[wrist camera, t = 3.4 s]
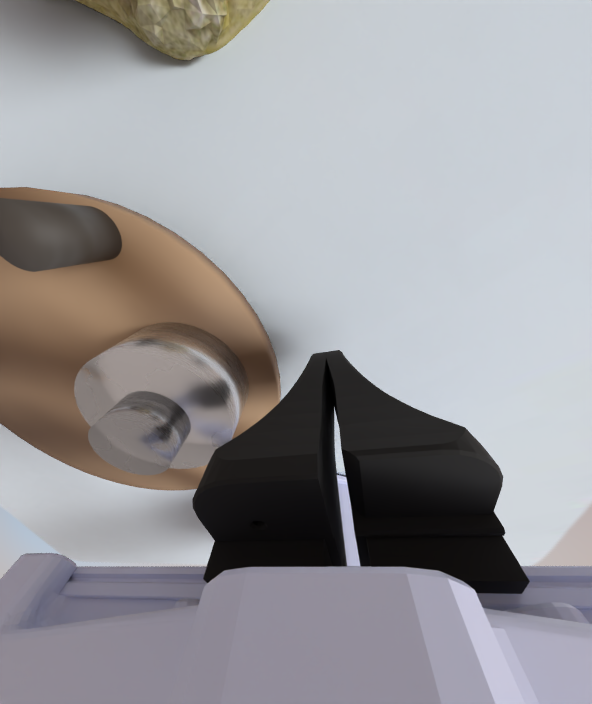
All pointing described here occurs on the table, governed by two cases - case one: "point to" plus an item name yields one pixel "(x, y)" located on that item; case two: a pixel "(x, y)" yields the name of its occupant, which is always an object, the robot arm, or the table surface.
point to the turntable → (105, 316)
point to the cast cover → (162, 398)
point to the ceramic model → (181, 22)
